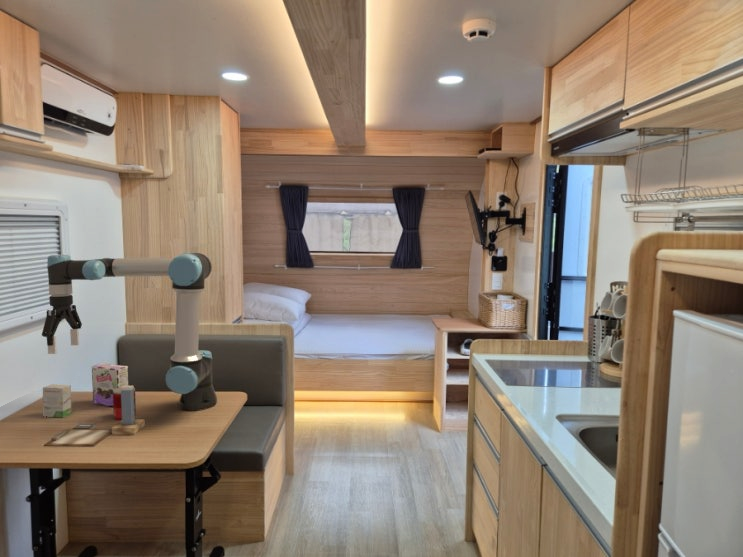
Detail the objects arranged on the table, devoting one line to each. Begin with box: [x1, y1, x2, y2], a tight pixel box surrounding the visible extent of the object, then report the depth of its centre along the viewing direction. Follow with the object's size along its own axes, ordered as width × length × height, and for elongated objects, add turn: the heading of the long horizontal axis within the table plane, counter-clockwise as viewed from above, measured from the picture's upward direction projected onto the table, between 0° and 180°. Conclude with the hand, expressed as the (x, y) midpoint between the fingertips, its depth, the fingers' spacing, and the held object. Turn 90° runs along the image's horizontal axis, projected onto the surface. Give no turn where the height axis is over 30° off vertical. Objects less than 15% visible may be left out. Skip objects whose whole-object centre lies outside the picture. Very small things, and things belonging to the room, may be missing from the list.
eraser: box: [121, 384, 136, 425], centre depth 173 cm, size 3×2×16 cm
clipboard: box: [43, 428, 112, 447], centre depth 167 cm, size 17×13×1 cm
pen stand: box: [111, 418, 146, 436], centre depth 174 cm, size 8×8×2 cm
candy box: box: [91, 362, 129, 408], centre depth 200 cm, size 14×6×16 cm, turn 73°
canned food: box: [113, 387, 137, 421], centre depth 186 cm, size 8×8×11 cm
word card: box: [72, 423, 96, 429], centre depth 177 cm, size 6×4×1 cm, turn 91°
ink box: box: [42, 383, 72, 418], centre depth 187 cm, size 9×5×12 cm, turn 84°
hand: (64, 349), depth 184 cm, fingers open, 13 cm apart
